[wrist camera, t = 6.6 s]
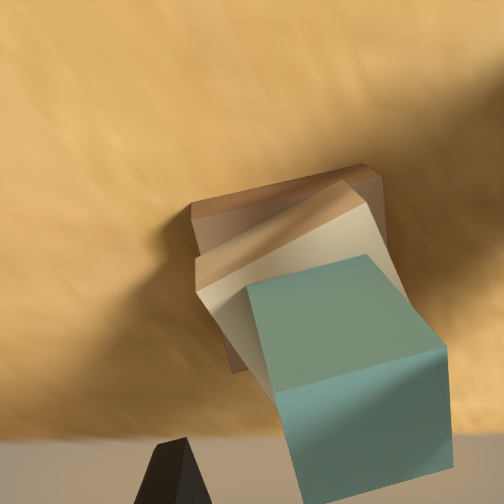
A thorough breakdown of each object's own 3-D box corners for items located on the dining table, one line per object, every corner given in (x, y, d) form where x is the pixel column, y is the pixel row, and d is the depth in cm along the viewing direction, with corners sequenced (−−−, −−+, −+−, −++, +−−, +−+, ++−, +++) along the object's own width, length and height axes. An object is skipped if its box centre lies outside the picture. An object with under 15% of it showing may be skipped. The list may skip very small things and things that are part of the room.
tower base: (359, 160, 19) (382, 176, 16) (372, 304, 22) (394, 334, 19) (191, 198, 18) (191, 220, 16) (228, 338, 21) (232, 373, 19)
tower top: (342, 179, 16) (366, 202, 14) (397, 304, 19) (426, 339, 16) (195, 258, 17) (195, 292, 15) (268, 369, 19) (278, 412, 17)
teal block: (366, 253, 15) (447, 345, 10) (379, 351, 16) (453, 467, 12) (246, 286, 15) (273, 393, 10) (271, 381, 16) (305, 509, 12)
